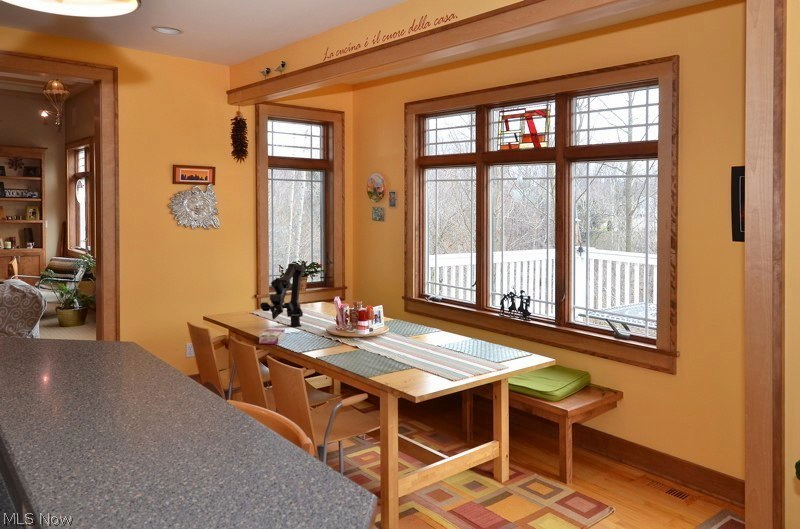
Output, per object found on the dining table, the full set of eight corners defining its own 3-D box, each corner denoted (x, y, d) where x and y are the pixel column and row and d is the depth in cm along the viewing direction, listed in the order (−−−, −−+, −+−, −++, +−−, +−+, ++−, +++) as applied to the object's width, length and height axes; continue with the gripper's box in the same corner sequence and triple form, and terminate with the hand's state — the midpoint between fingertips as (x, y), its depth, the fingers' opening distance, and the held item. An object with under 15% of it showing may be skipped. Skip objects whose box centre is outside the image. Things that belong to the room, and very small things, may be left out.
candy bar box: (267, 337, 377) (258, 343, 361) (266, 329, 377) (258, 335, 360) (285, 337, 376) (277, 344, 360) (285, 329, 375) (277, 335, 359)
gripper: (260, 288, 377) (253, 310, 368) (290, 289, 374) (284, 311, 364) (266, 299, 386) (259, 321, 376) (296, 300, 382) (290, 322, 373)
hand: (273, 318), depth 372 cm, fingers closed
